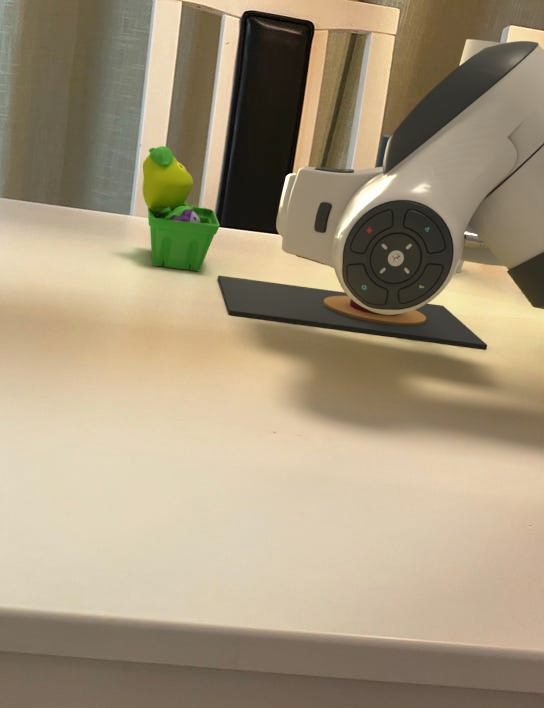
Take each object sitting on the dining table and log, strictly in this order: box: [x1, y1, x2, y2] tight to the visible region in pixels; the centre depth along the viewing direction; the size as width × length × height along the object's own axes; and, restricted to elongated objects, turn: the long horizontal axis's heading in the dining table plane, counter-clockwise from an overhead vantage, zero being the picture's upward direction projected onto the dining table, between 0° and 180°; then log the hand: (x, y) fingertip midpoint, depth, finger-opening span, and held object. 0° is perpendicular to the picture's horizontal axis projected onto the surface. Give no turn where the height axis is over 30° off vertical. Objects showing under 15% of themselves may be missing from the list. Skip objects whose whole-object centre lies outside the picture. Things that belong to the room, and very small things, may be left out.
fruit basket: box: [142, 145, 221, 272], centre depth 109 cm, size 11×9×11 cm
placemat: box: [217, 275, 488, 350], centre depth 99 cm, size 24×16×1 cm, turn 86°
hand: (399, 209), depth 90 cm, fingers open, 8 cm apart
